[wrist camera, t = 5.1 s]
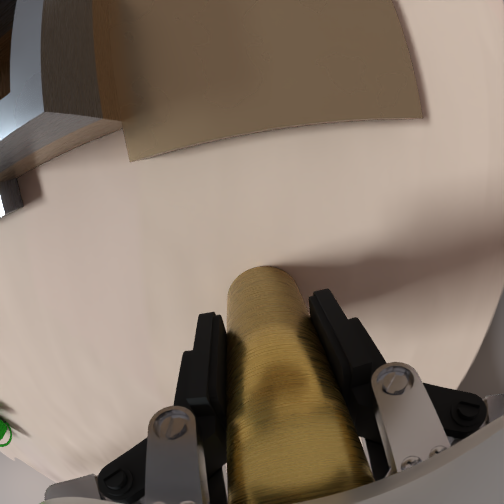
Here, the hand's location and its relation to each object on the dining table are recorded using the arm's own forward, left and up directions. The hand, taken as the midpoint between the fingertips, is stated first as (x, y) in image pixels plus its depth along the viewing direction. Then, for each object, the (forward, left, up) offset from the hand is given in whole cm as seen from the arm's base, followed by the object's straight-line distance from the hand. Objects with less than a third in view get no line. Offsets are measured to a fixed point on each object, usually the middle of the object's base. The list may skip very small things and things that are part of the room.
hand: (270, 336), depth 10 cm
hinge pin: (0, 0, -3) cm, 3 cm away
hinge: (+12, +7, -3) cm, 14 cm away
